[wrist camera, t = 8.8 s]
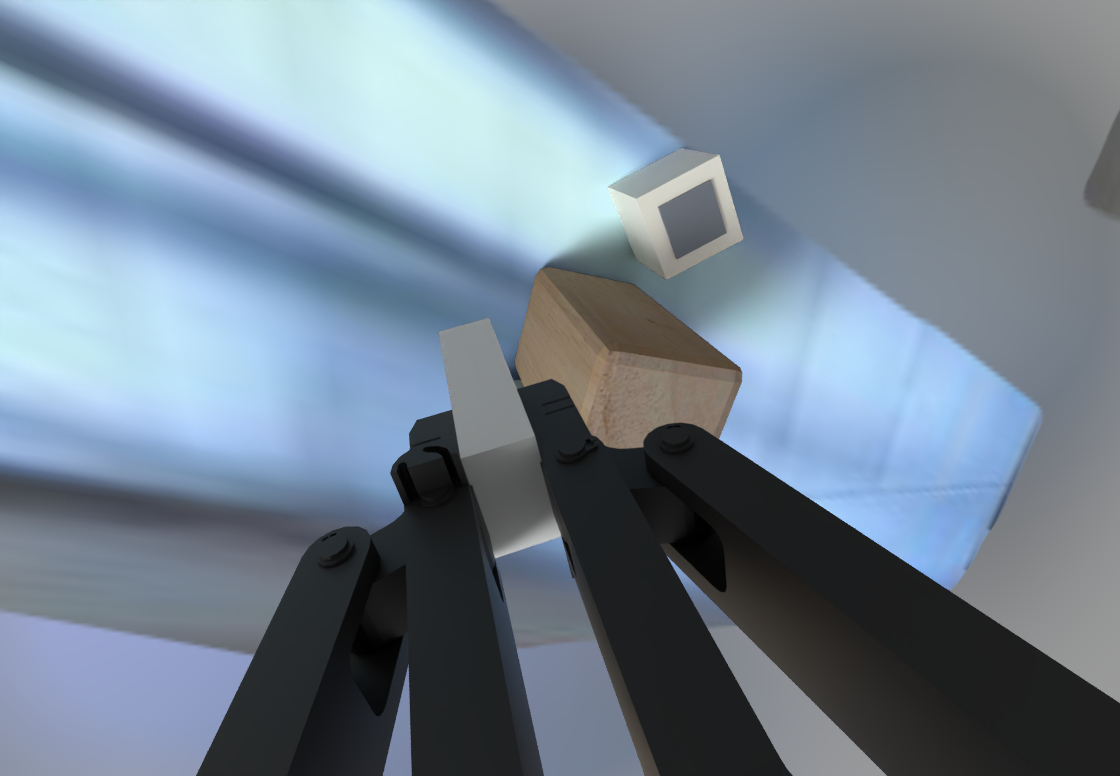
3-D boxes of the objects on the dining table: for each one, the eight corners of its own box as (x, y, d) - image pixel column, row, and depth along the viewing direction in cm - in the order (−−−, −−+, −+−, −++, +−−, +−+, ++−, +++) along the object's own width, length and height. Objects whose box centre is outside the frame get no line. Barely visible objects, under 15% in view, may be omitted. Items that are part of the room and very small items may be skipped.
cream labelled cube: (607, 186, 50) (637, 199, 44) (680, 147, 50) (721, 155, 44) (635, 259, 54) (668, 281, 47) (704, 223, 54) (745, 240, 47)
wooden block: (639, 283, 55) (753, 370, 37) (609, 381, 58) (700, 502, 41) (535, 261, 51) (607, 346, 34) (510, 367, 55) (563, 492, 38)
